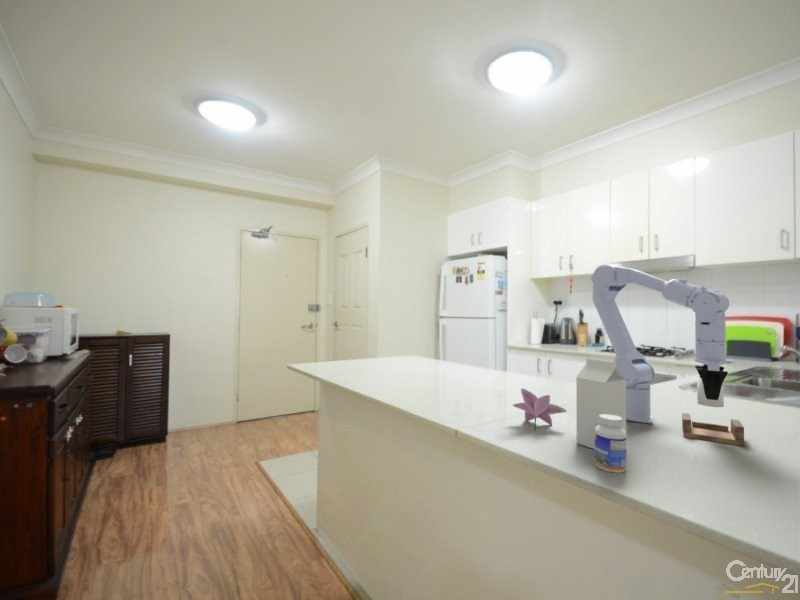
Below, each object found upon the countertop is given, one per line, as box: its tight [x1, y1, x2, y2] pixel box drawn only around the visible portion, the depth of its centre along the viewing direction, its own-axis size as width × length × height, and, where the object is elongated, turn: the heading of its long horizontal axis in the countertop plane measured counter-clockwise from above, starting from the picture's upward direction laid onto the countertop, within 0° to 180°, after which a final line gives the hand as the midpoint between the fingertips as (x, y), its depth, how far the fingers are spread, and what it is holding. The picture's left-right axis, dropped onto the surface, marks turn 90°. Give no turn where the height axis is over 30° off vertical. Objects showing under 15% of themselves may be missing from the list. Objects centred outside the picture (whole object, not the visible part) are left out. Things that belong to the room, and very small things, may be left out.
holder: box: [681, 412, 746, 447], centre depth 93 cm, size 11×8×4 cm
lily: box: [512, 388, 567, 432], centre depth 99 cm, size 12×12×10 cm
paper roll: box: [696, 377, 725, 408], centre depth 93 cm, size 5×5×6 cm
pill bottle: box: [593, 414, 627, 474], centre depth 74 cm, size 5×5×10 cm
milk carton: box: [576, 358, 627, 450], centre depth 86 cm, size 7×7×19 cm
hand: (710, 397), depth 93 cm, fingers closed on paper roll, 5 cm apart
